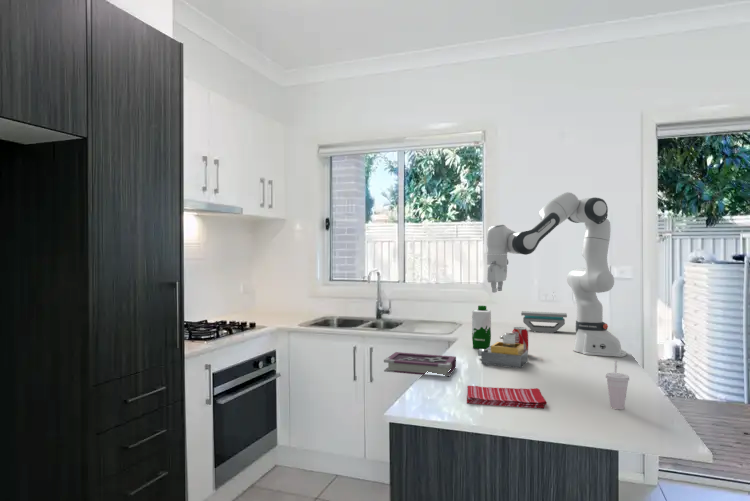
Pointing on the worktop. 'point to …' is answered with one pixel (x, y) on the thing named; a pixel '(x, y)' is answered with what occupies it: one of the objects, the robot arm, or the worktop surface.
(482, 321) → the milk carton
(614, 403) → the smoothie
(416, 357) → the book
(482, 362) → the grey gold framed box
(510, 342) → the spout can
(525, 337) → the soda can
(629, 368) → the worktop surface
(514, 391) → the dish towel
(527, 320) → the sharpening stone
